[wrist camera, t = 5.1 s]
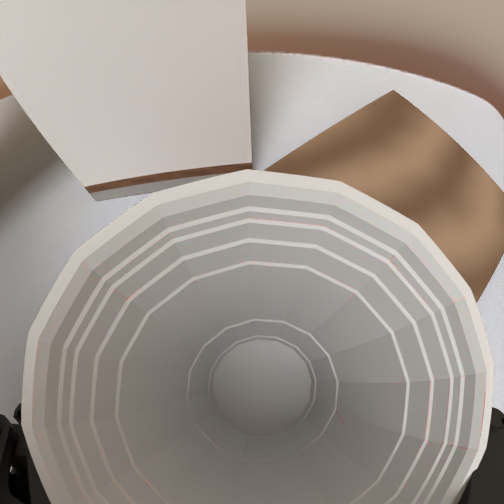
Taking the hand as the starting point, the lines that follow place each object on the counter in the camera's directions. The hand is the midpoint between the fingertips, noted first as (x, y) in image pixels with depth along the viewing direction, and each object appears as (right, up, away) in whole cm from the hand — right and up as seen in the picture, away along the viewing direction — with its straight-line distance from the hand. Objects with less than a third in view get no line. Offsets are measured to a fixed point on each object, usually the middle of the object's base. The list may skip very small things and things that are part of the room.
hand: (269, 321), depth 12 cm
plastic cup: (0, -5, +3) cm, 6 cm away
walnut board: (+11, +7, +7) cm, 15 cm away
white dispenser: (-7, +12, +10) cm, 17 cm away
